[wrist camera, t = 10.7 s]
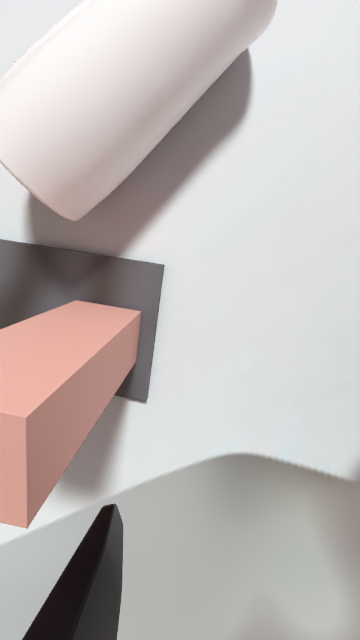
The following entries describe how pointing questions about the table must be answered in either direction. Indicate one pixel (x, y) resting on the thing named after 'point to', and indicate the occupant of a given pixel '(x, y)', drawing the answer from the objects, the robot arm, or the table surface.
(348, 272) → the table surface
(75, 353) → the stub
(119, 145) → the drinking glass
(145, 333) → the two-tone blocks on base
